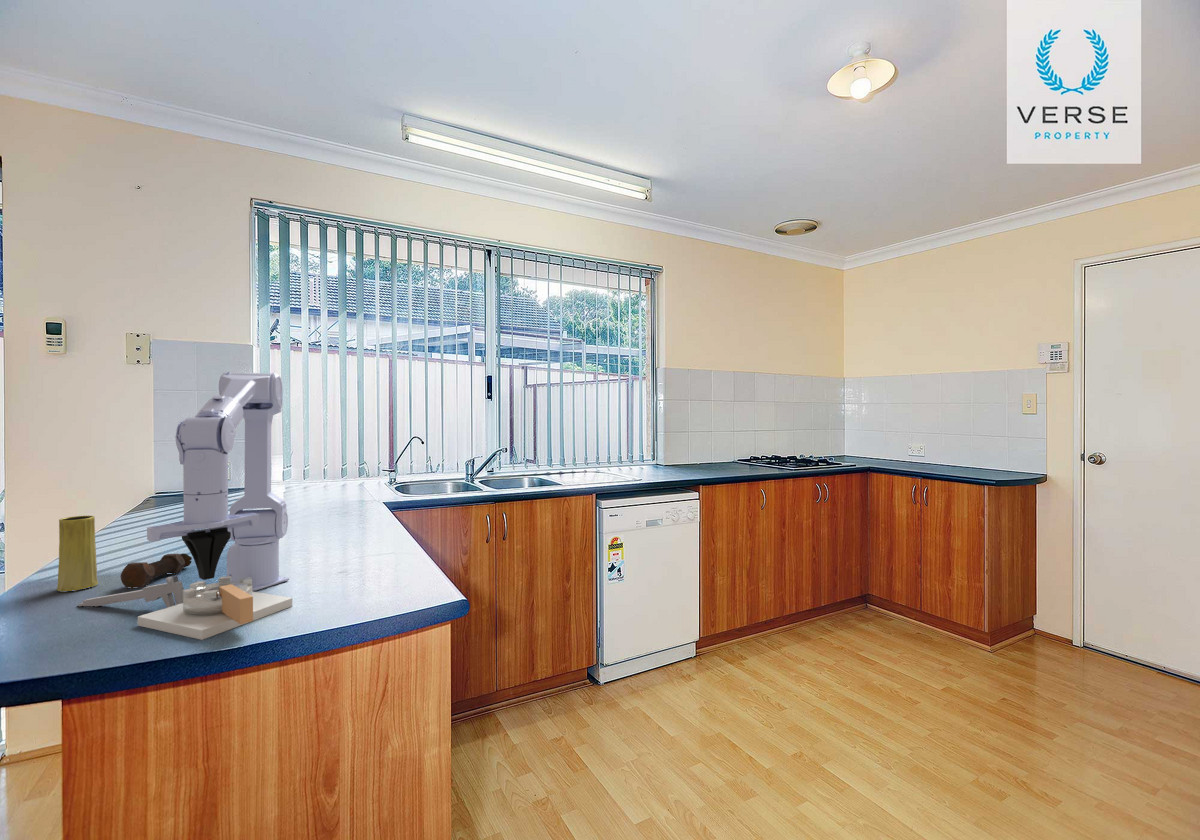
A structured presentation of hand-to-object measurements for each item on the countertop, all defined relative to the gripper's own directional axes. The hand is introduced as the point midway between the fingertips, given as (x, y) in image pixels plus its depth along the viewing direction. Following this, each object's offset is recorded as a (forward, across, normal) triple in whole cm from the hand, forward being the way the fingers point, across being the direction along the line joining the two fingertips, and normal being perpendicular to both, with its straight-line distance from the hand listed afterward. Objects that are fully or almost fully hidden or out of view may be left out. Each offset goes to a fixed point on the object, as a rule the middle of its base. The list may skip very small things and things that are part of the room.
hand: (206, 577), depth 86 cm
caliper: (+10, -3, +27) cm, 29 cm away
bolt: (+10, +7, +45) cm, 46 cm away
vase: (+10, -5, +50) cm, 51 cm away
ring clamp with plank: (+7, +5, +5) cm, 10 cm away
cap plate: (+9, +5, +9) cm, 14 cm away
